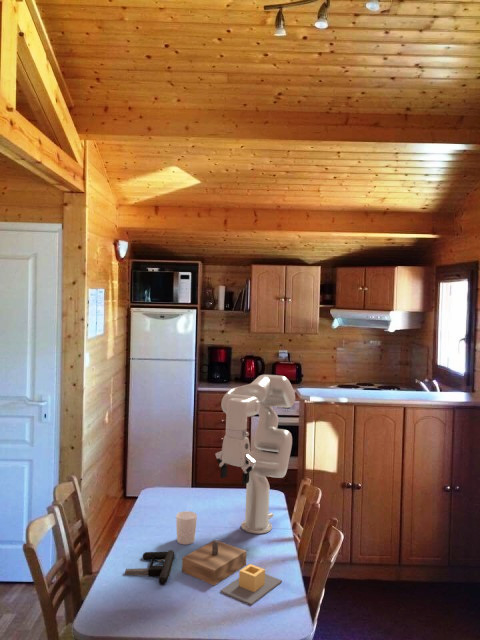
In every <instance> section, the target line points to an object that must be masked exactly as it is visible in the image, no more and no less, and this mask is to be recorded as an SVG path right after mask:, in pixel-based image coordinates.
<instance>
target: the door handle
mask: <svg viewBox="0 0 480 640" xmlns="http://www.w3.org/2000/svg"><path fill="white" fill-rule="evenodd" d="M175 556H176V553H175V551H173V549H172V550H171V549H170V550H167V551H146V552H143V554H142V559H143V561H150V564H149V567H142V568H126V569H125V570H124V575H125V576H143V577H144V576H148V578H149V577H150V578H151V577H152V578H158V583H159V585H162V586H165V585H166V584H167V582H168V581H169V579H170V578H169V577H171V572H172V569H173V564H174V559H175ZM155 561H156V562H157V565H155ZM162 562H163V564H161V565H160V564H159V565H158V563H162Z"/></svg>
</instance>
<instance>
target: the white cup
mask: <svg viewBox="0 0 480 640" xmlns="http://www.w3.org/2000/svg"><path fill="white" fill-rule="evenodd" d="M175 518H176V520H175V521H176V541H177V543H178V544H180V545H191V544H194V543H195V541H196V539H195V538H196V532H197V531H196V529H197V518H198V515H197V513H195V512H193V511H186V510H185V511H180V512H178V513H177V514H176V517H175Z"/></svg>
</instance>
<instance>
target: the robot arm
mask: <svg viewBox="0 0 480 640" xmlns="http://www.w3.org/2000/svg"><path fill="white" fill-rule="evenodd" d="M295 403H296V392H295V390H294V388H293V386H292V384H291V382H290V380H289V379H288V378H287V377H286V376H284V375H276V374H261V375H258V376H257V377H256V378H255V379H253V381H252V382H251V383H249V384H244V385H240V386H236V387H233V388H231V389H229V390H228V391H227V392H226V393H225V394H224V396H223V397H222V399H221V404H220V406H221V410H222V411H223V413H225V415H226V417H225V418H226V419H225V434H224V437H223V441H222V444H221V445H222V447H221V450H220V451H217V452H215V457H216V461H217V463H218V464H219V465H218V467H220V470H219V471H220V479H224V478H227V477H228V465H230V466H233V467H238V468H239V467H240V468H241V470H242V471H243V473H242V475H241V476H242V478H241V479H242V482H241V484H242V485H245V486H246V490H245V517H244V519H245V520H243V521H242V522H241V525H240V528H241V529H242V530H243V531H245V532H247V533H250V534H266V533H269V532H270V531H271V530H272V528H273V525H272V524H271V522H270V521H269V520H270V519H271V518H273V517H274V513H273V512H270V511H269V509H270V507H269V506H270V483H269V481H268V479H267V478H268V477H271V478H277V479H278V478H279V479H282V478H284V477H285V476H286V474H287V471H288V467H289V464H290V462H289V461H290V458H291V457H290V456H291V452H292V448H293V447H292V446H293V436H292V433H291V432H290V431H289V430H287V429H284V428H278V427H279V426H278V425H279V421H280V420H279V416H278V414H277V413H276V411H275V409H273V407H277V408H285V409H286V408H292V407H293V406H294V404H295ZM257 414H258V422H257V425H256V429H255V433H254V438H253V445H254V447H255V448H256V449H258V450H251V444H250V439H249V435H250V432H248V429H247V428H248V418H249V417H251V418H252V417H253V416H256V415H257ZM260 450H261V451H260Z"/></svg>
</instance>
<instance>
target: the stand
mask: <svg viewBox="0 0 480 640" xmlns="http://www.w3.org/2000/svg"><path fill="white" fill-rule="evenodd" d="M181 559H182V561H181V562H182V563H181V572H182V573H184V574H186V575H188V576H190V577H193V578H195V579H198V580H200V581H202V582H205V583H207V584H209V585H211V586H216V585H217V584H219V583H220V582H222V581H223V580H225V579H227V578H228V577H230V576H231V575H233V574H235V573H236V572H237V571H240V570H241V569H243V568H244V567H246V566H247V550H245V549H242V548H239V547H236V546H234V545H231V544H228V543H226V542H222V541H219V540H217V539H214V540H212V541H211V542H209V543H207V544H205V545H203V546H201V547H200V548H196V549H195V550H193V551H192V552H190V553H188V554H186V555H185V556H182V558H181Z"/></svg>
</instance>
